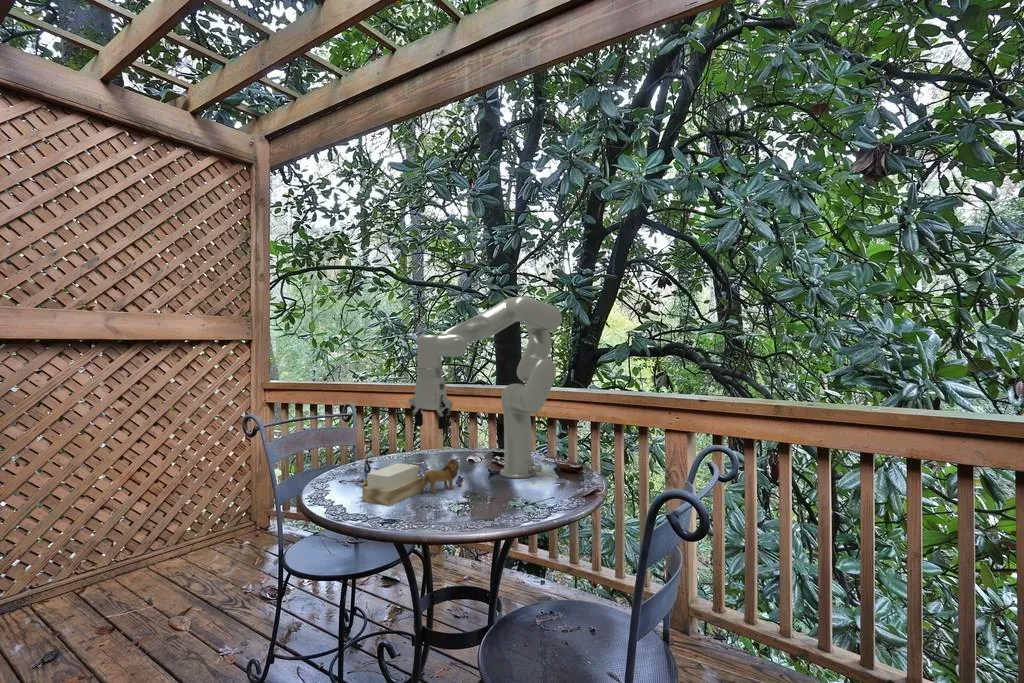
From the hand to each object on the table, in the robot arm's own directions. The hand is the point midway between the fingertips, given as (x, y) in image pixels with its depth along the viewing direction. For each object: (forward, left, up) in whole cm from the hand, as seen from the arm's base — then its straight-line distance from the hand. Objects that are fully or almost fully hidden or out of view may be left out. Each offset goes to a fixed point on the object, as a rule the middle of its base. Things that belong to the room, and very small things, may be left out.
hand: (430, 427), depth 165 cm
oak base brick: (+6, +11, -20) cm, 23 cm away
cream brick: (+6, +11, -16) cm, 20 cm away
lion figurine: (-3, 0, -20) cm, 20 cm away
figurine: (+24, +3, -20) cm, 32 cm away
